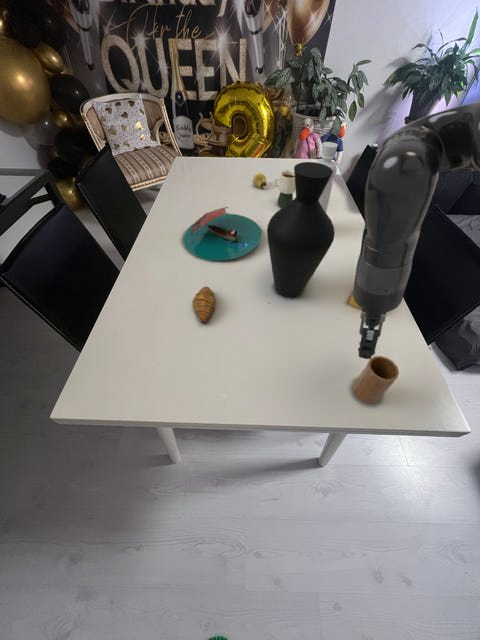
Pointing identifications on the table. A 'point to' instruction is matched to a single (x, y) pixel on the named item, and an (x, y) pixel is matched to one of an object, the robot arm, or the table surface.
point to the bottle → (327, 155)
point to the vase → (300, 231)
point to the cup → (375, 379)
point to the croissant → (204, 304)
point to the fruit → (259, 180)
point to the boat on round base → (222, 236)
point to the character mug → (285, 187)
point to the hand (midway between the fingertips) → (367, 338)
